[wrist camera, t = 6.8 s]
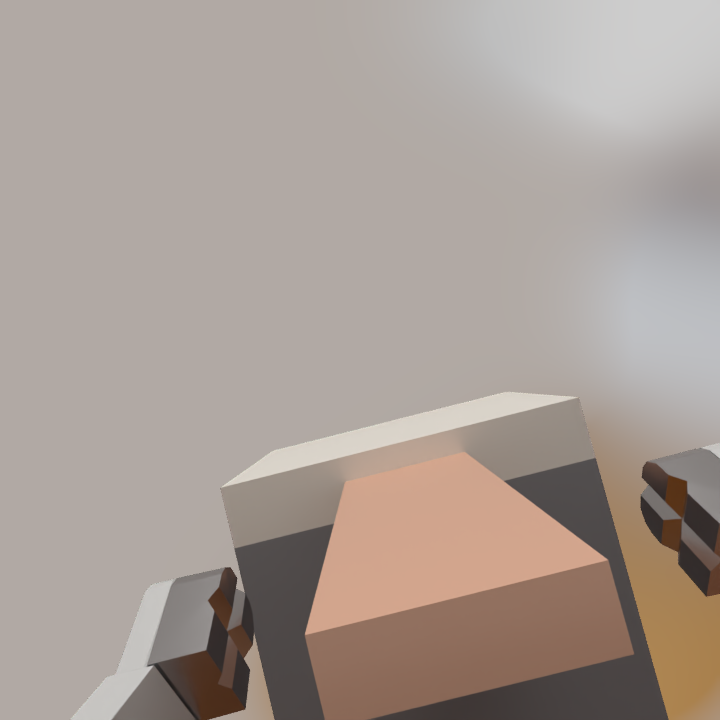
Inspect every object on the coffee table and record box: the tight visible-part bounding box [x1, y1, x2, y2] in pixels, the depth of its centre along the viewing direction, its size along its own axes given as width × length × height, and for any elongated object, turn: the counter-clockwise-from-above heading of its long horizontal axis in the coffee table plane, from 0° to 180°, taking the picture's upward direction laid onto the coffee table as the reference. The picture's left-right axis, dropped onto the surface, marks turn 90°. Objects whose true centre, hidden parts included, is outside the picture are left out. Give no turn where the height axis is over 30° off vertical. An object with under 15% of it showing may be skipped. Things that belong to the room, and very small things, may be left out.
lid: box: [220, 392, 634, 720], centre depth 14 cm, size 17×12×2 cm
